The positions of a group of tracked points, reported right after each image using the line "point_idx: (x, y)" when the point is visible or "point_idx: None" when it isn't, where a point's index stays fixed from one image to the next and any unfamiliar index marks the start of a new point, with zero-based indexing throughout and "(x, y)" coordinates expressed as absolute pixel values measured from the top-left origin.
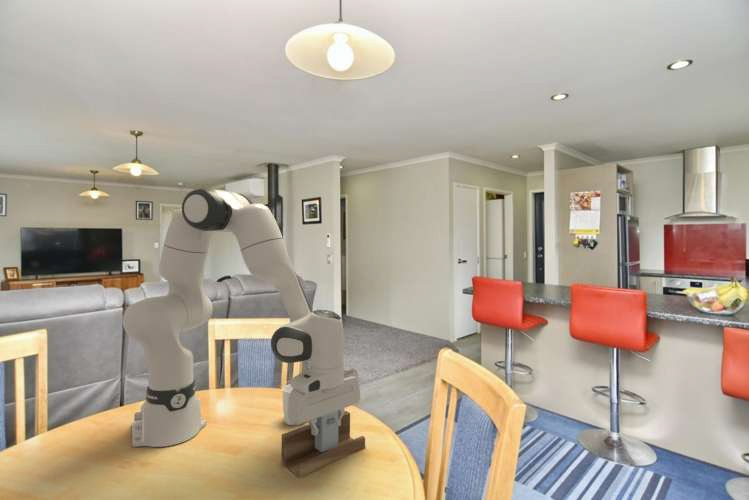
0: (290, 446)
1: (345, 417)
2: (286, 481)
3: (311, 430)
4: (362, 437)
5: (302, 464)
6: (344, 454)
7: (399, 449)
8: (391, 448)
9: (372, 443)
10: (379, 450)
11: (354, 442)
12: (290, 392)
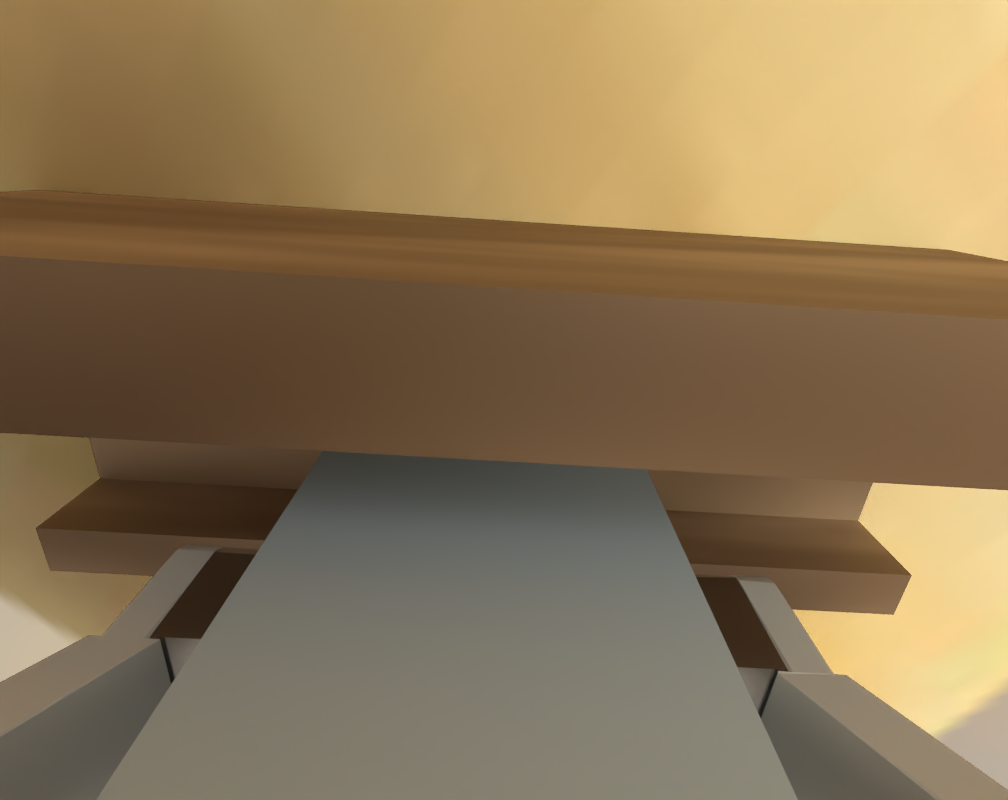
0: None
1: None
2: (3, 470)
3: (151, 585)
4: (876, 600)
5: (86, 555)
6: None
7: (938, 722)
8: (924, 684)
9: (928, 550)
10: (847, 646)
11: None
12: None
